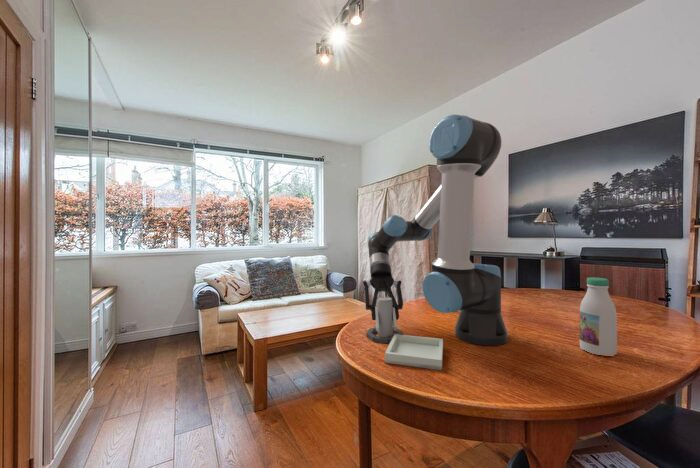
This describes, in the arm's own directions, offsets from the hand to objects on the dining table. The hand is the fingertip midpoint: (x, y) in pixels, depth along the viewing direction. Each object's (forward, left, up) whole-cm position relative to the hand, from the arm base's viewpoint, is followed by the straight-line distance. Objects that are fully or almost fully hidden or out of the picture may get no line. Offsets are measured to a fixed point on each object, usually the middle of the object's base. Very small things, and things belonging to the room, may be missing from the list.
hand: (386, 328), depth 89 cm
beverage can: (+1, -4, -4) cm, 5 cm away
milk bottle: (-57, -8, -4) cm, 57 cm away
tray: (-10, +8, -4) cm, 13 cm away
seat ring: (+1, -3, -4) cm, 5 cm away
